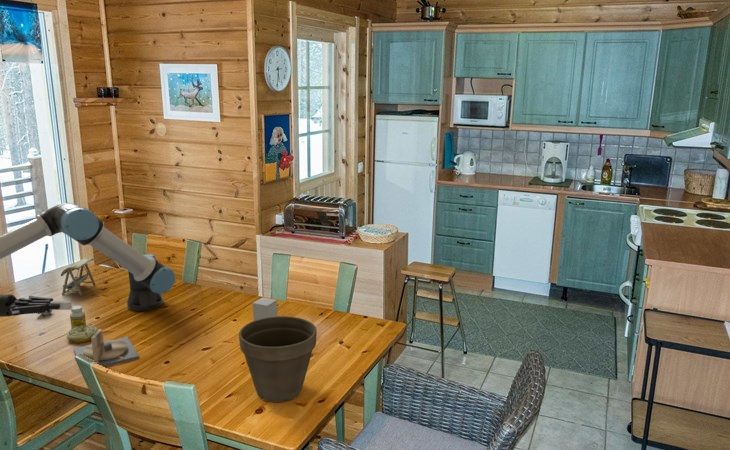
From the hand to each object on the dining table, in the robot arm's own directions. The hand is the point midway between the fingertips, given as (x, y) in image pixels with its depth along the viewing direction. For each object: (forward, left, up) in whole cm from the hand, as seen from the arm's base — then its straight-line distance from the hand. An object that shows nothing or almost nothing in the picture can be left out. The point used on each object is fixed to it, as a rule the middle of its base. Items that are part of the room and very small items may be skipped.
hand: (70, 305), depth 197 cm
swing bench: (-12, -79, -23) cm, 83 cm away
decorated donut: (-5, -22, -23) cm, 32 cm away
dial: (-9, -1, -21) cm, 23 cm away
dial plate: (-10, -2, -22) cm, 24 cm away
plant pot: (-53, +55, -22) cm, 80 cm away
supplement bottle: (-5, -31, -22) cm, 39 cm away
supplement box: (-69, +9, -23) cm, 73 cm away
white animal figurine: (+5, -55, -23) cm, 60 cm away
